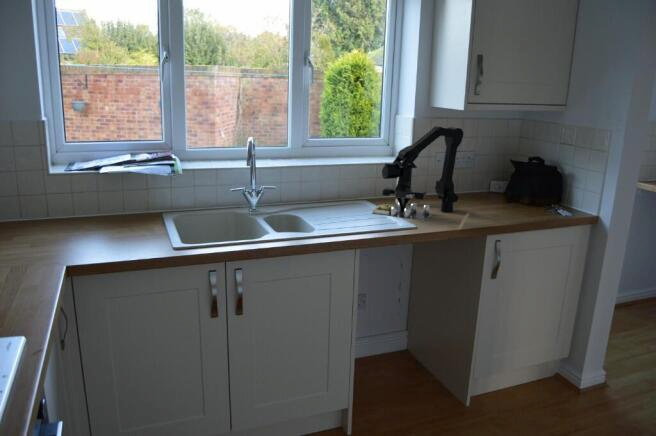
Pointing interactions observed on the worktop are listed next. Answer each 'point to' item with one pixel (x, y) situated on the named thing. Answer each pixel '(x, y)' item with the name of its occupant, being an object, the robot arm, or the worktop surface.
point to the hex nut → (386, 207)
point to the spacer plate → (413, 215)
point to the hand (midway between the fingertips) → (402, 211)
